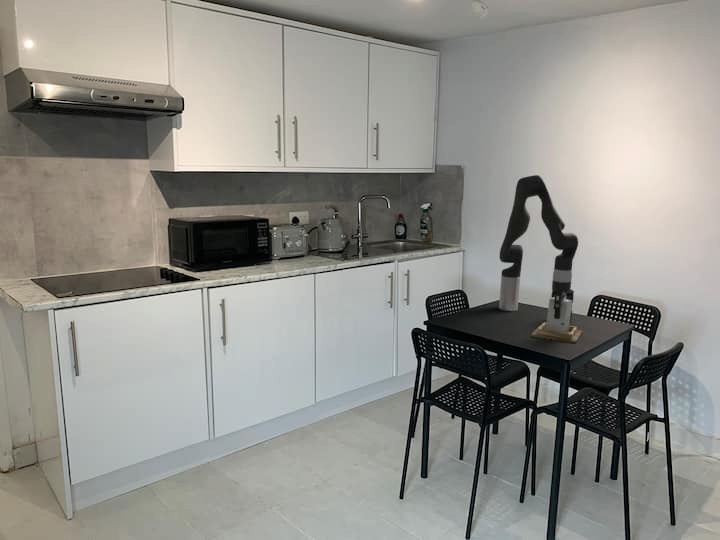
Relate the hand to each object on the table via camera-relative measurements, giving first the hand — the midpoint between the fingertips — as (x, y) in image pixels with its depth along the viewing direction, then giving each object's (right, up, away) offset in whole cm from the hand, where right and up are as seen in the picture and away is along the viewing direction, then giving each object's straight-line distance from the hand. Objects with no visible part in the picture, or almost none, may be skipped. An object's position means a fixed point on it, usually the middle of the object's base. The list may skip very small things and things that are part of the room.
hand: (558, 316), depth 239 cm
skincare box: (0, -7, +2) cm, 7 cm away
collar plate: (0, -8, +1) cm, 8 cm away
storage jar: (+9, -4, +24) cm, 27 cm away
